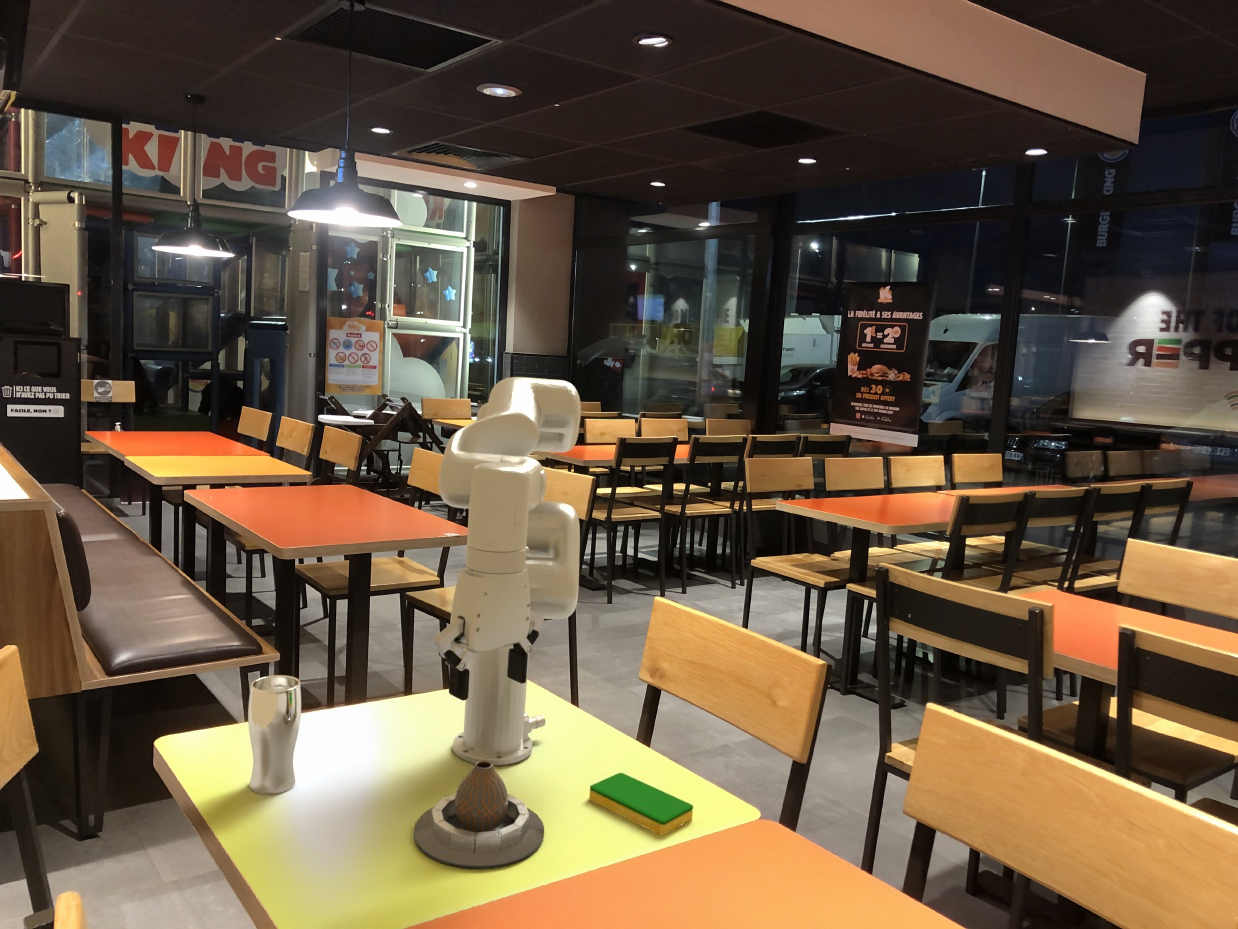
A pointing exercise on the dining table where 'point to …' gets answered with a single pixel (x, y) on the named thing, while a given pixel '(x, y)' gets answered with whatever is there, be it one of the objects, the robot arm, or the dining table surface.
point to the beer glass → (273, 732)
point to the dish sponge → (641, 803)
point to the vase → (481, 799)
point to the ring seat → (478, 837)
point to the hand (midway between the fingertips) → (488, 688)
